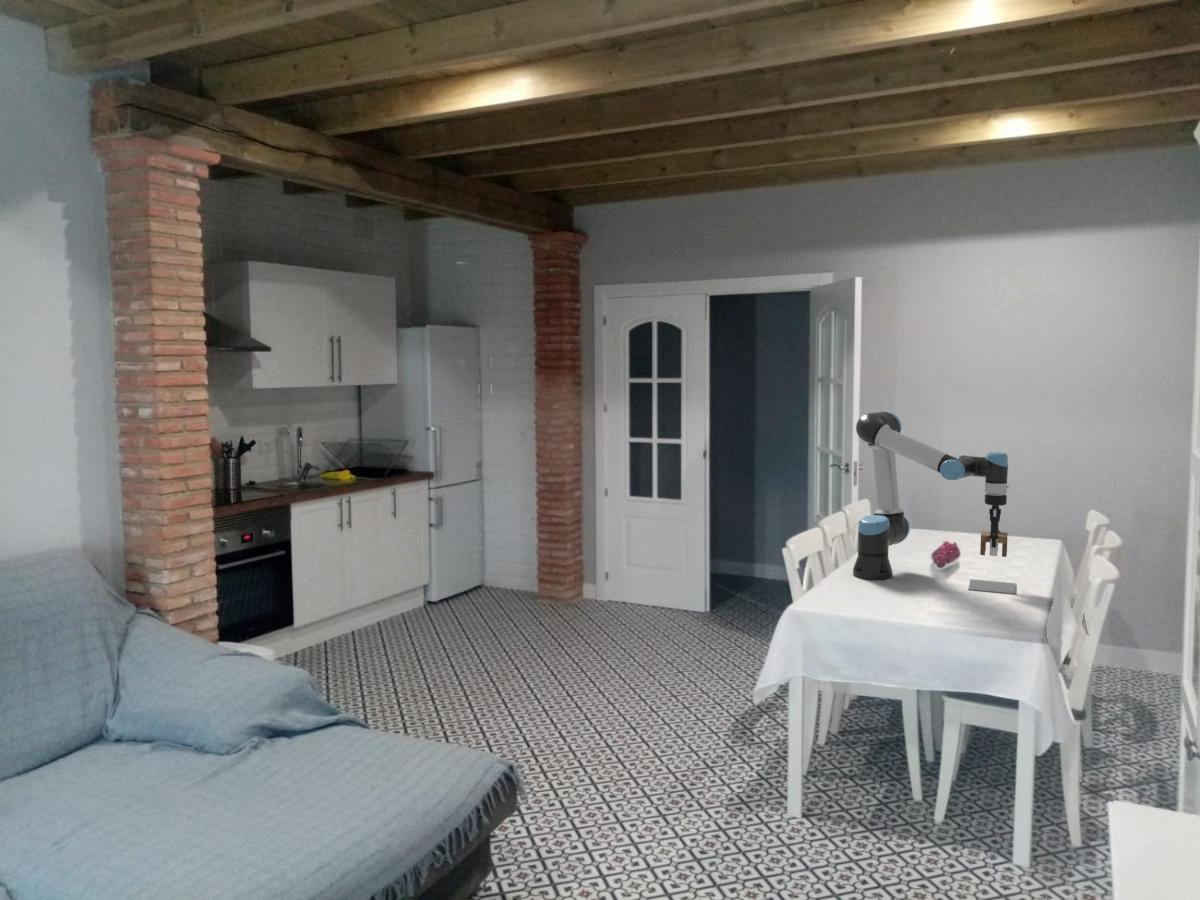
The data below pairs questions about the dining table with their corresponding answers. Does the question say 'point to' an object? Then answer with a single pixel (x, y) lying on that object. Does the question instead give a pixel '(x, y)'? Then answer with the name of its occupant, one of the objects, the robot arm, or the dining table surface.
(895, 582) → the dining table surface
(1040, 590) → the dining table surface
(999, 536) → the wooden stool
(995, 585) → the mat
